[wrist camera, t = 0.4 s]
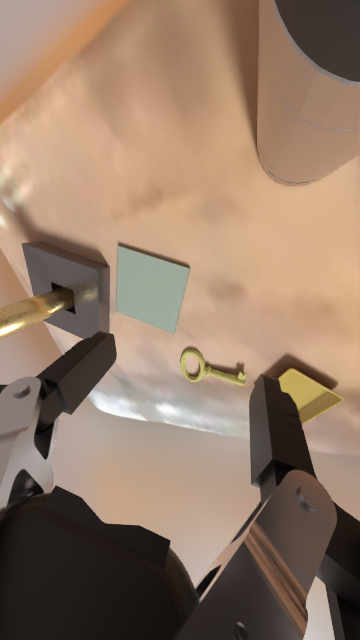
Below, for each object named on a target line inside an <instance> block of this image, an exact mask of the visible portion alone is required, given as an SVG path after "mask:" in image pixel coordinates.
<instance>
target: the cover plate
mask: <svg viewBox="0 0 360 640" xmlns="http://www.w3.org/2000/svg"><path fill="white" fill-rule="evenodd" d="M22 247H23V251H24V256H25V260H26V264H27V269H28V273H29V277H30V282H31V286H32V290H33V294H34V296H37V295H40V294H43V293H46V292H49V291H52V290H55V289H58V288H61V287H66V288H68V289H71V290H73V293H74V302H75V306H73V307H70V308H68V309H66V310H64V311H62V312H60V313H57V314H55V315H53V316H51V317H49V318H46V319H44V320H43V321H45V322H47V323H50V324H52V325H54V326H56V327H58V328H61V329H63V330H65V331H67V332H70V333H72V334H74V335H76V336H78V337H81V338H83V339H86V338H88V337H90V338H91V337H92V336H93V335H94V334H95V333H97V332H98V331H103V332H107V333H109V293H110V267H109V266H107V265H104V264H101V263H98V262H95V261H92V260H89V259H86V258H84V257H81V256H78V255H75V254H72V253H69V252H66V251H63V250H61V249H58V248H55V247H52V246H49V245H46V244H43V243H40V242H30V243H22Z"/></svg>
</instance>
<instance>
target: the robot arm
mask: <svg viewBox="0 0 360 640" xmlns="http://www.w3.org/2000/svg"><path fill="white" fill-rule="evenodd" d="M257 152H258V157H259V161H260V163H261V166H262V168H263V170H264V171H265V172H266V174H267V175H268V176H269V177H270V178H271V179H273V180H274V181H276V182H277V183H280V184H283V185H287V186H300V185H306V184H309V183H312V182H315V181H318V180H319V179H321V178H323V177H325V176H327V175H328V174H330V173H332V172H333V171H335V170H336V169H338V168H339V167H341V166H342V165H344V164H346V163H347V162H349V161H350V160H352V159H353V158H355V157H356V156H358V155H359V154H360V0H259V56H258V114H257ZM116 356H117V353H116V346H115V339H114V335H113V334H110V333H107V332H103V331H98V332H97V333H95V334H94V335H93V336H92V337H91V338H90V337H88V338H86V339H84V340H82V341H80V342H78V343H77V344H76V345H74V346H73V347H72V348H71V350H68V351H67V352H66V353H65V355H62V356H61V357H60V358H59V359H57V360H56V361H55V362H54V363H52V364H51V365H50V366H49V367H47V368H46V369H45V370H44V371H42V373H40V374H39V375H38V376H36V377H25V378H21V379H19V380H16V381H14V382H12V383H11V384H9V385H0V640H303V638H304V635H305V631H306V627H307V621H308V613H307V610H306V599H307V595H308V593H309V590H310V588H311V585H312V583H313V580H314V578H315V576H317V577H318V578H319V579H320V580H321V581H322V582H324V584H325V586H326V591H327V597H328V603H329V608H330V614H331V620H332V625H333V630H334V636H335V640H360V521H358V520H357V519H355V518H354V517H353V516H351V515H350V514H348V513H347V512H346V511H344V510H343V509H342V508H340V507H339V506H338V505H337V504H336V503H335V502H333V500H332V499H331V497H330V495H329V494H328V492H327V490H326V489H325V488H324V487H323V485H322V484H321V483H320V482H319V481H318V480H317V477H316V475H315V472H314V469H313V465H312V461H311V458H310V454H309V450H308V446H307V443H306V439H305V435H304V431H303V429H302V424H301V420H300V419H299V417H300V416H299V412H298V409H297V405H296V403H295V402H294V400H293V399H292V397H291V396H290V394H289V393H286V392H282V391H281V386H280V381H279V379H278V378H274V377H270V376H267V375H263V374H261V375H260V376H259V378H258V380H257V382H256V385H255V387H254V389H253V391H252V393H251V397H250V402H249V415H250V450H251V451H250V454H251V485H253V486H256V487H259V488H260V492H261V500H260V501H259V503H258V504H257V506H256V507H255V508H254V510H253V511H252V512H251V514H250V515H249V516H248V518H247V519H246V521H245V522H244V523H243V525H242V526H241V528H240V529H239V530H238V532H237V533H236V534H235V536H234V537H233V539H232V540H231V541H230V542H229V544H228V545H227V546H226V547H225V549H224V550H223V551H222V552H221V553H220V555H219V556H218V557H217V559H216V560H215V561H214V562H213V564H212V565H211V567H210V568H209V569H208V571H207V572H206V573H205V575H204V576H203V577H202V579H201V580H200V581H199V583H198V584H197V586H196V587H195V588H194V585H193V583H192V581H191V579H190V576H189V574H188V572H187V571H186V569H185V567H184V565H183V563H182V562H181V560H180V559H179V558H178V556H177V555H176V554H175V553H174V552H173V551H172V549H171V548H170V547H169V546H170V540H168V539H166V538H164V537H162V536H160V535H158V534H156V533H154V532H152V531H150V530H147V529H145V528H143V527H141V526H138V525H121V524H106V523H104V522H102V521H101V520H100V519H99V517H98V516H97V515H96V514H95V513H94V512H93V511H92V509H90V507H89V506H88V505H87V504H86V502H85V501H84V500H83V499H82V498H81V497H79V496H77V495H75V494H73V493H71V492H69V491H67V490H65V489H62V488H60V487H58V486H55V488H54V489H53V490H52V488H53V469H52V457H53V452H54V446H55V440H56V433H57V428H58V422H59V418H58V416H59V415H60V414H61V413H62V412H65V413H68V414H72V413H73V412H74V411H75V410H76V408H77V407H78V406H79V405H80V404H81V402H82V401H83V400H84V399H85V398H86V396H87V395H88V394H89V393H90V392H91V390H92V389H93V388H94V387H95V386H96V384H97V383H98V382H99V381H100V380H101V378H102V377H103V376H104V375H105V374H106V372H107V371H108V370H109V369H110V368H111V366H112V365H113V364H114V362H115V360H116Z"/></svg>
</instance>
